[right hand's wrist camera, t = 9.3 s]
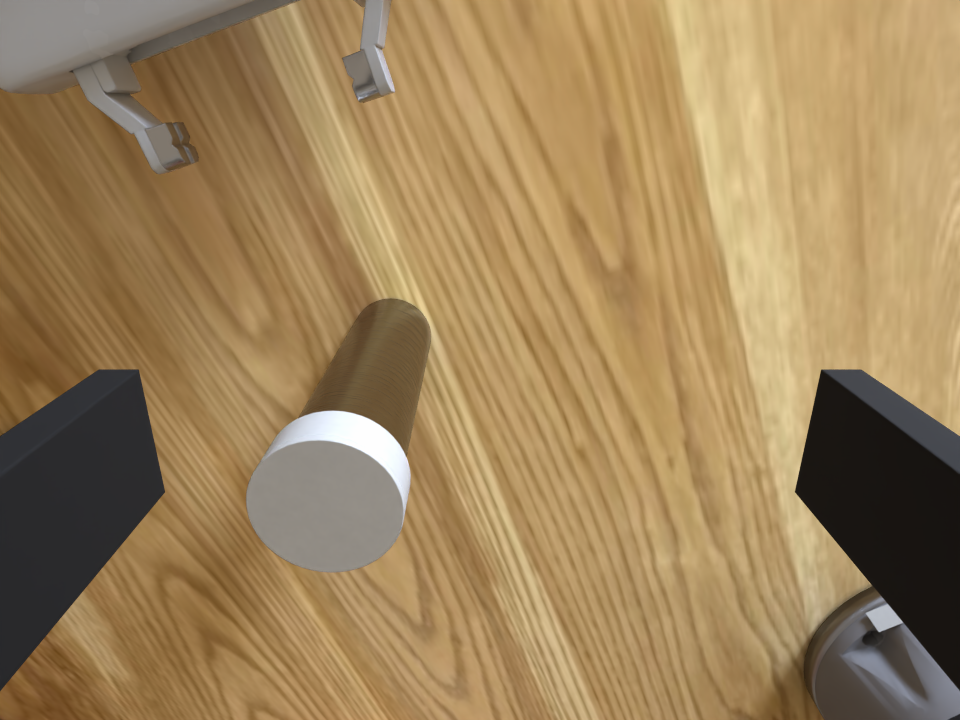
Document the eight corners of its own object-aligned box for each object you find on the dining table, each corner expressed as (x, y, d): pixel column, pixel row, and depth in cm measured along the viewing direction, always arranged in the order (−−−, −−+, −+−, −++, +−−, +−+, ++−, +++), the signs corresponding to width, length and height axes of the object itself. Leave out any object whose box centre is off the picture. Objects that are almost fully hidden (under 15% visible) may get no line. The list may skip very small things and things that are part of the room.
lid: (403, 541, 24) (396, 581, 22) (264, 525, 24) (244, 563, 22) (418, 419, 22) (411, 450, 20) (267, 400, 22) (246, 429, 20)
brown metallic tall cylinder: (426, 375, 38) (388, 563, 22) (351, 365, 38) (259, 548, 22) (435, 303, 36) (401, 451, 21) (356, 293, 36) (261, 434, 20)
